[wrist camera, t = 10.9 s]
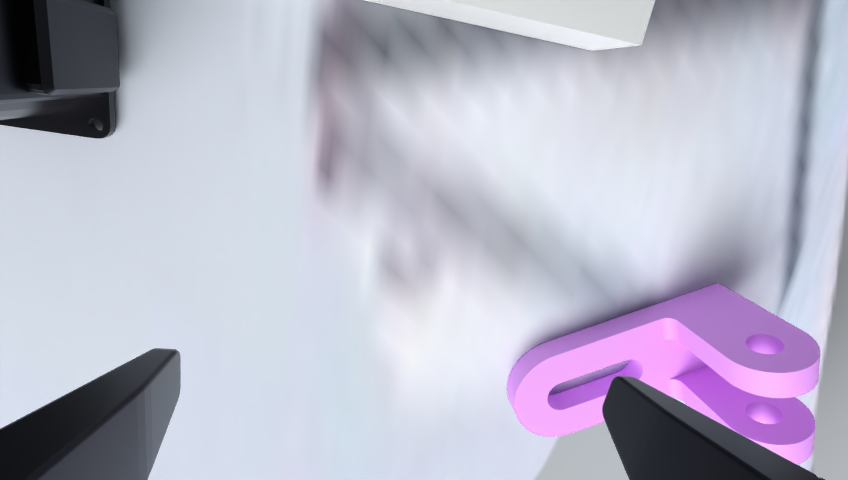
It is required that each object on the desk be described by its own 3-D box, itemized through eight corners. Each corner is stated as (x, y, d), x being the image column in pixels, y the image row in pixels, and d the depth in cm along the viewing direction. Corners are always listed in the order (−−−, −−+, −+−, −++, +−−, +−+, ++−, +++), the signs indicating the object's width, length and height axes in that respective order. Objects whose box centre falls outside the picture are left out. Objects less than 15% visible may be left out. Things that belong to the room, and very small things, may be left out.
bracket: (715, 281, 25) (845, 354, 18) (718, 359, 27) (835, 450, 20) (496, 357, 24) (548, 459, 18) (516, 431, 26) (570, 546, 20)
